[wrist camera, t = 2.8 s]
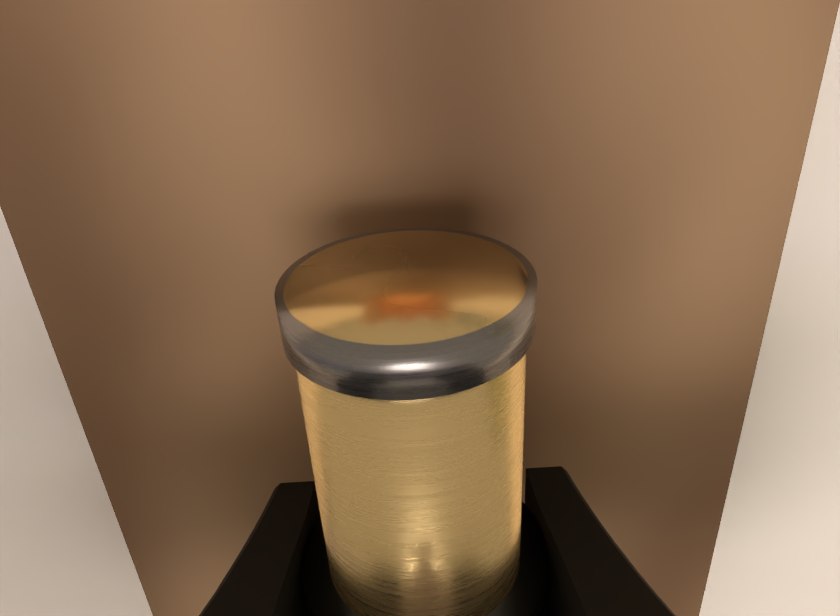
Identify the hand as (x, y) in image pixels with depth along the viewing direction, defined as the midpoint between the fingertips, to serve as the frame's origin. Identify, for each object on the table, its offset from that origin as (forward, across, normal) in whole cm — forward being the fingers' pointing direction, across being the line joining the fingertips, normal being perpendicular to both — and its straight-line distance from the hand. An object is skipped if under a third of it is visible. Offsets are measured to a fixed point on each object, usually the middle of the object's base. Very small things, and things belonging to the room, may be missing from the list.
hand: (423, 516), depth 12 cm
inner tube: (0, 0, +3) cm, 3 cm away
